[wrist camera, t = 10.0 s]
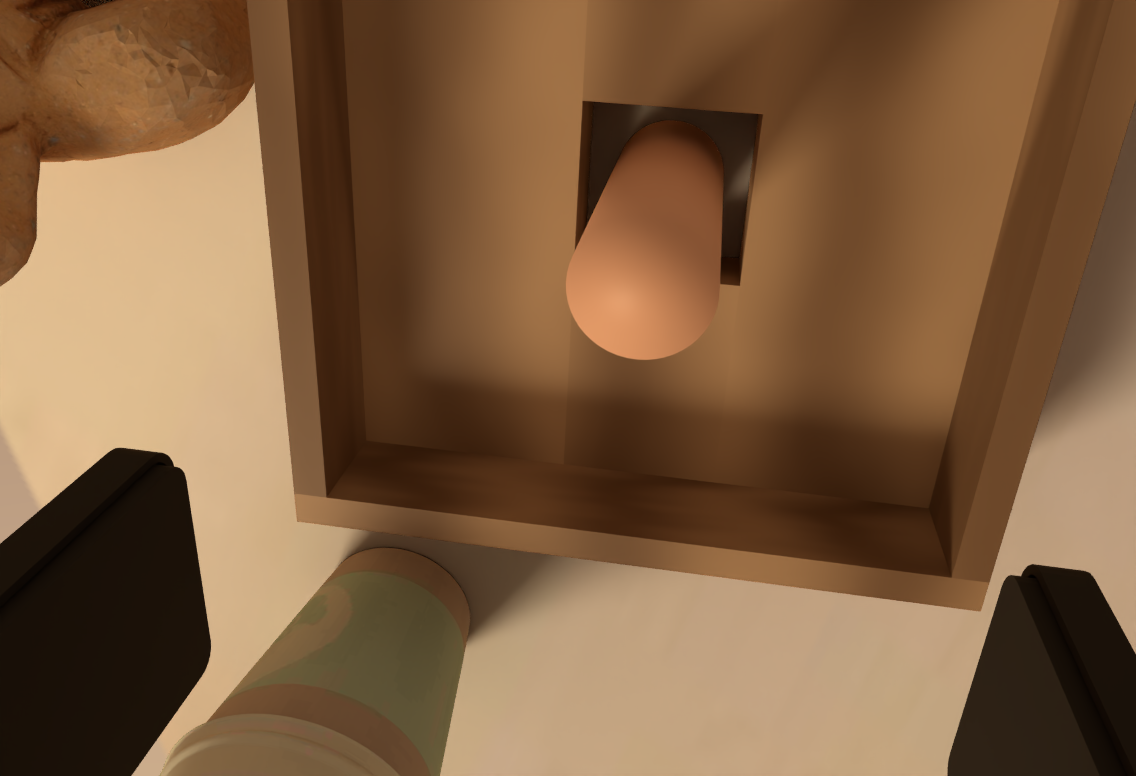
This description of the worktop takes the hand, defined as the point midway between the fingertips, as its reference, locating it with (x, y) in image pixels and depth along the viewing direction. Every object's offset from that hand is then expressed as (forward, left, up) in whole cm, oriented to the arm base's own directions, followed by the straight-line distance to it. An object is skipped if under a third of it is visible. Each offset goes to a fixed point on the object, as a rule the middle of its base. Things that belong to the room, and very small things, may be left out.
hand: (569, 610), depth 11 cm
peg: (0, 0, -20) cm, 20 cm away
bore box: (0, 0, -20) cm, 20 cm away
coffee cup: (+9, +18, -20) cm, 29 cm away
